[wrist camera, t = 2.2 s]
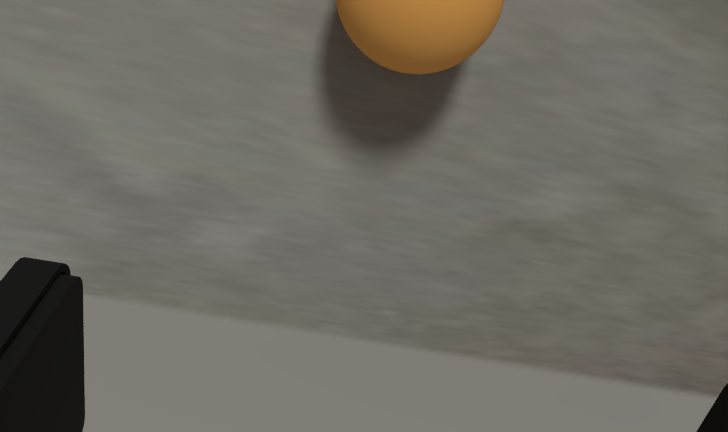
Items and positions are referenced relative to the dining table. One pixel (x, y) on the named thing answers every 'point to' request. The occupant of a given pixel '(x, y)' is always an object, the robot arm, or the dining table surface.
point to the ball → (419, 31)
